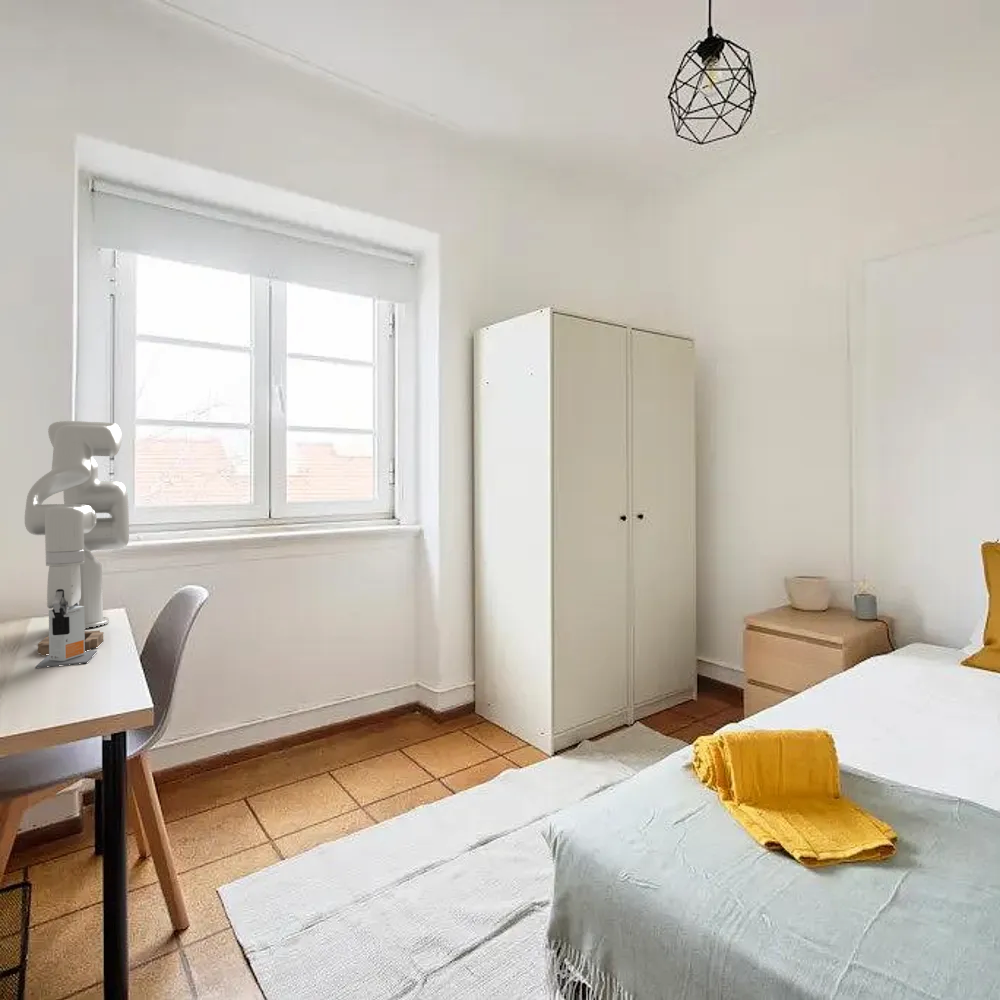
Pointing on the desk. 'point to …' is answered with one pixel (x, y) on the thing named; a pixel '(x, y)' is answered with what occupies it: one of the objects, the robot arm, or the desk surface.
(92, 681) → the desk surface
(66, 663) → the grey rubber mat
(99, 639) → the box
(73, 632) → the skincare box
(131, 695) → the desk surface
